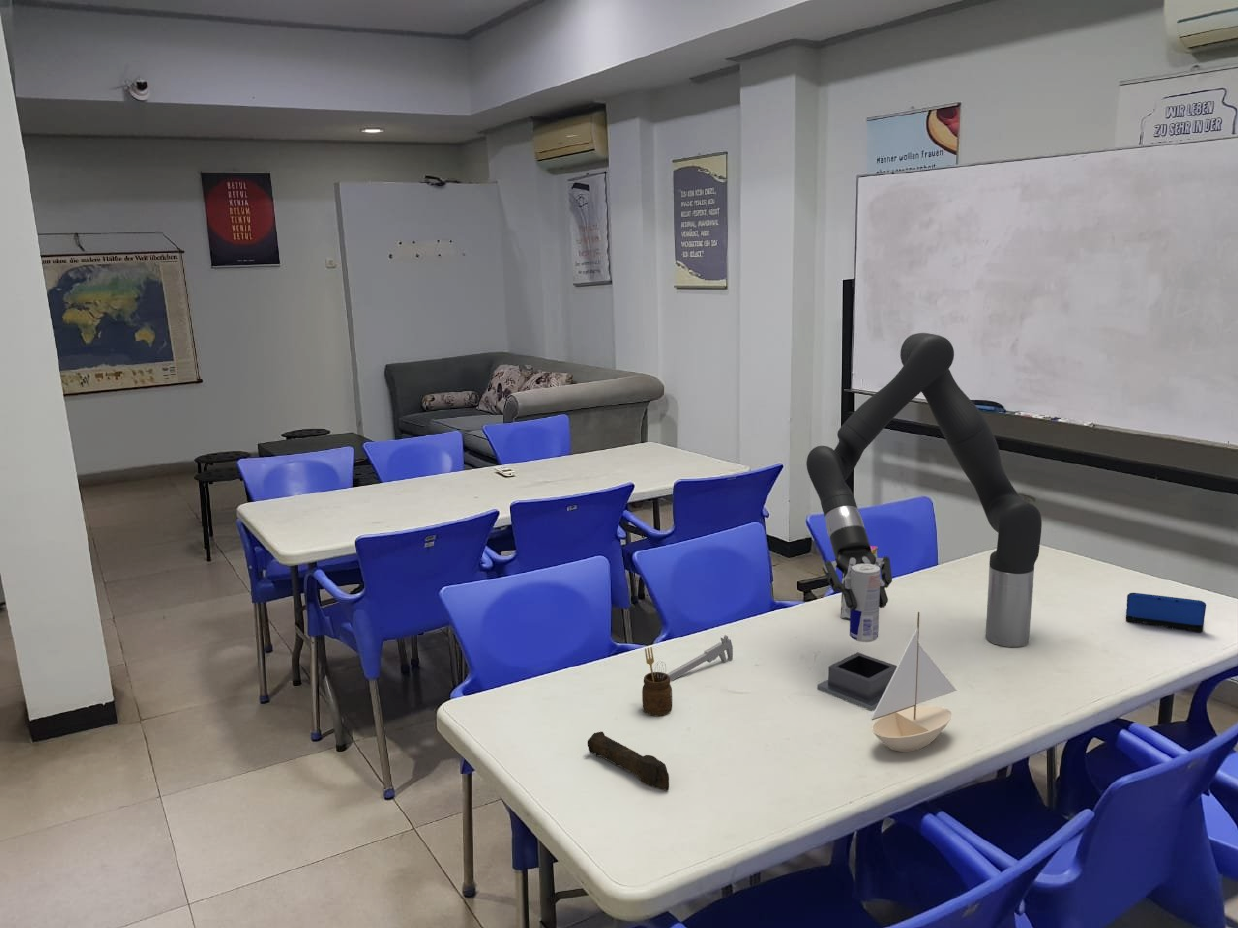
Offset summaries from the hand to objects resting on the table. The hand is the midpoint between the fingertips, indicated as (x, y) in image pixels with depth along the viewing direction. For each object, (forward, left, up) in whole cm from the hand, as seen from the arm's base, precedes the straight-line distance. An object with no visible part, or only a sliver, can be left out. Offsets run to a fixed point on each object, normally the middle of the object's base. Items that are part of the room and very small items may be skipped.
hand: (868, 607), depth 184 cm
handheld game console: (-79, +27, -19) cm, 85 cm away
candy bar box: (-35, -26, -19) cm, 48 cm away
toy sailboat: (+10, +17, -19) cm, 27 cm away
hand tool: (+53, -11, -19) cm, 58 cm away
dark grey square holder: (-1, -1, -18) cm, 18 cm away
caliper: (+17, -31, -19) cm, 41 cm away
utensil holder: (+35, -24, -19) cm, 47 cm away
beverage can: (-1, -2, -7) cm, 8 cm away
